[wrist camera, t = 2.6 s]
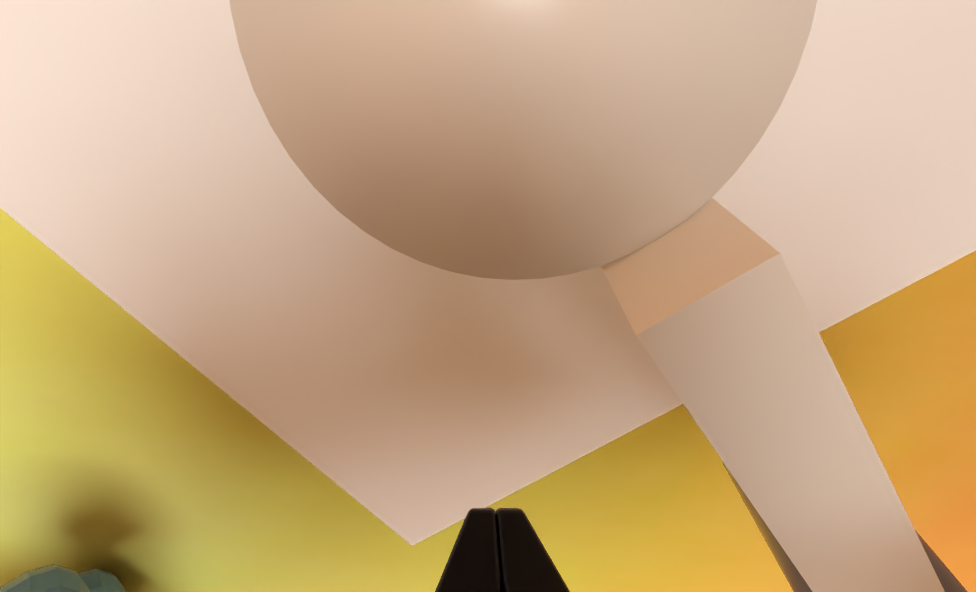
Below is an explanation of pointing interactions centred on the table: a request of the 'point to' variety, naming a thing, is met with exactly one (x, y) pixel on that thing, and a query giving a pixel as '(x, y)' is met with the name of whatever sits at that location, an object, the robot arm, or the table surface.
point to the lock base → (427, 289)
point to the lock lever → (604, 213)
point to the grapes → (64, 581)
